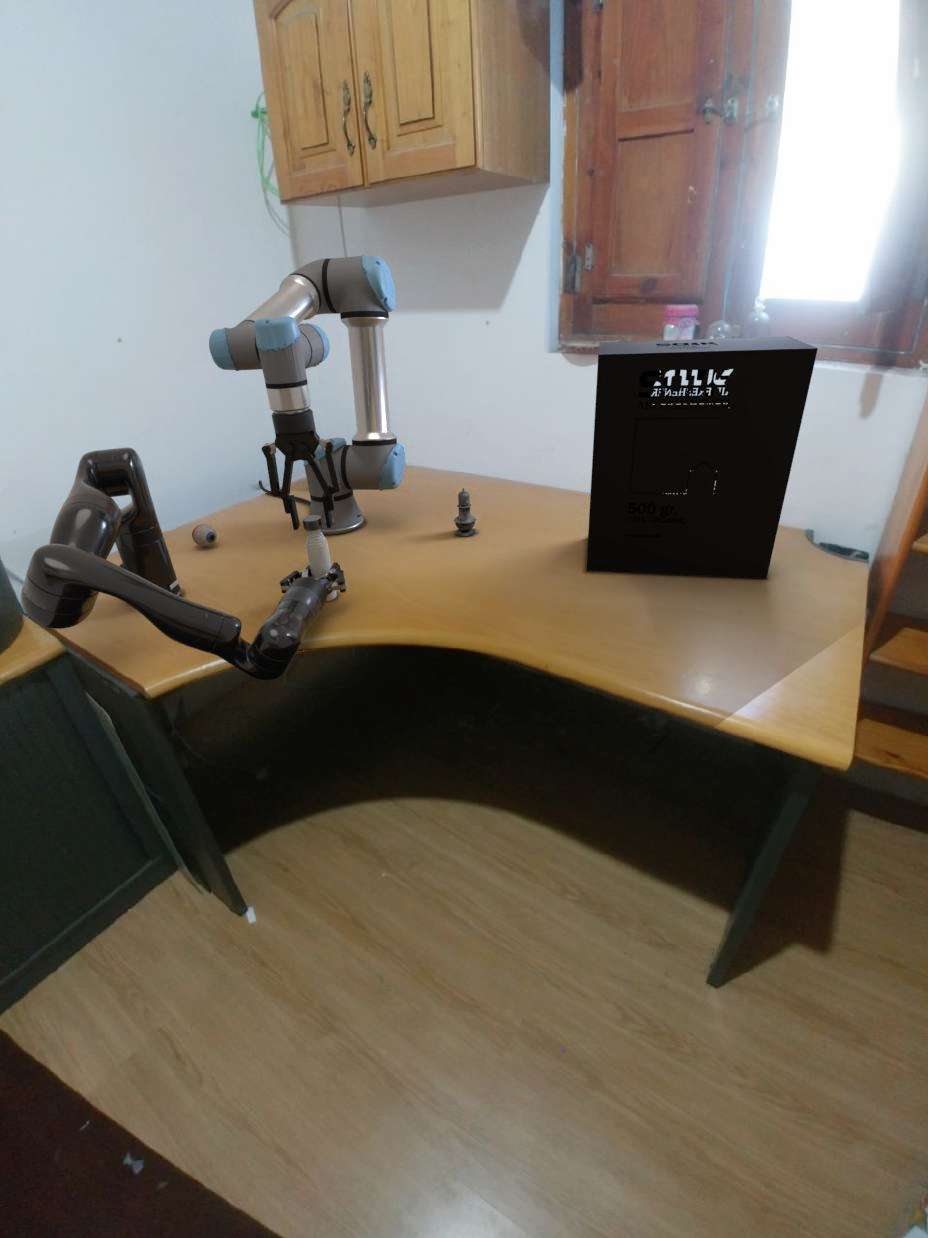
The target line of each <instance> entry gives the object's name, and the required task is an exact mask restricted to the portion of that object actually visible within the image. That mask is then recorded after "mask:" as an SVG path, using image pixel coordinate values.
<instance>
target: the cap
mask: <svg viewBox="0 0 928 1238" xmlns="http://www.w3.org/2000/svg"><path fill="white" fill-rule="evenodd" d="M302 525H303V529H304V530H305V531H307V532H308V531H314V530H319V529H321V528H322V527H323V524H322V518H321V516H319V515H310V516H309V515H306V516H304V517H303V518H302Z"/></svg>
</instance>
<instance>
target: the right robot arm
mask: <svg viewBox="0 0 928 1238" xmlns="http://www.w3.org/2000/svg"><path fill="white" fill-rule="evenodd" d="M396 301H397V296H396V288H395V283H394V279H393V276H392V273H391V270H390V268H389V265H388V264H387V262H386V261H385V260H384V258H382V257H381V256H379V255H364V254H362V255H356V256H344V257H332V258H331V257H330V258H328V257H327V258H326V257H325V258H320V259H316V260H313V261H310V262H308V263H306V264H304V265H302V266H300V267H299V268H297V269H295V270H294V271H292V272H290V273H289V275H287V276H286V277H284V278H283V279H282V281H281V282H280V284H279V287H278V290H277V291H276V292H275V293H274V294H272V295H271V296H270V297H269V298H268V299H267V300H266V301H264V302H263V303H262V304H260V305H259V306H258V307H257V308H255V310H253V312H251V313H249V314H248V316H246V317H245V318H244V319H243V320H242V321H240V322H239V323H238V324H236V325H235V326H233V327H223V328H216V329H214V330H212V331H211V333H210V335H209V338H208V349H209V353H210V355H211V359H212V360H213V363H214V364H215V365H216V366H217V367H218V368H219V369H221V370H224V371H236V372H238V371H255V370H257V371H258V370H262V373H263V378H264V384H265V385H264V386H265V390H266V395H267V400H268V406H269V409H270V410H271V411H272V413H271V420H272V424H273V429H274V435H275V438H274V441H273V442H270V443H268V442H266V443H264V445H263V446H262V447H261V452H262V453H263V455H264V457H265V461H266V468H267V473H268V480H269V487H270V488H269V489H267V488H265V487H264V485H263V481H262V480H258V485H259V489H260V490H262V491H263V492H264V493H266V494H268V495H271V496H272V497H278V498H281V500H282V504H283V505H282V506H283V509H284V512H285V514H286V515H288V514H289V515H290V519H291V524H292V528H293V531H298V530H299V528H300V527H301V523H300V518H299V513H298V509H297V502H296V501H299V502H302V503H305V504H308V505H309V506H310V507H309V513H308V516H310V515H319V516H321V518H322V524H323V527H322V528H321V529H320V530H321V532H322V534H323V535H324V536H327V535H329V536H331V535H339V534H340V535H341V534H345V533H350V532H353V531H355V530H357V529H359V528H361V527H362V526H363V525H364V523H365V519H364V514H363V512H362V510H361V508H360V505H359V504H358V501H357V500H356V498H355V495H354V491H363V490H364V491H380V492H383V491H392V490H395V489H397V488H398V487H400V485H401V484H402V481H403V478H404V475H405V469H406V452H405V447H404V446H403V444H400V443H398V438H397V435H396V434H395V433H394V432H393V431H392V430H391V423H390V421H391V420H390V406H389V392H388V378H387V377H388V376H387V364H386V363H387V362H386V348H385V333H384V331H385V330H384V328H385V326H387V324H388V323H389V320H390V314H389V313H391V312H392V311H394V310H395V309H396V305H397V303H396ZM327 314H328V315H330V314H331V315H333V314H335V315H338V314H339V316H340V322H341V323H342V324H343V325H344V326H345V327H346V329H347V334H348V336H347V337H348V347H349V357H350V358H349V359H350V369H351V380H352V390H353V391H352V392H353V404H354V413H355V415H354V416H355V424H356V425H355V427H356V432H355V433H354V435H353V436H352V437H351V444H347V441H346V439H345V438H344V437H331V438H325V439H324V438H320V436H319V434H318V433H317V428H316V423H315V417H314V412H313V410H312V409H311V407H312V400H311V394H310V388H309V382H308V378H307V371H306V370H308V369H310V368H314V367H317V366H319V365H320V364H321V363H323V362H324V361H326V359H327V358H328V356H329V353H330V348H331V347H330V340H329V337H328V335H327V333H326V331H324V330H323V328H321V326H318V325H317V324H314V323H302V322H303V321H307V320H310V319H312V318H314V317H315V316H318V315H327ZM277 449H278V450H279V451H280V452H281V454H282V455H283V456H284V462H283V464H284V467H283V477H282V485H281V486H280V479H279V472H278V463H277V457H276V454H277ZM297 461H303V467H304V471H305V477H306V481H307V486H308V492H309V498H310V500H309V499H306V498H302V497H299V496H296V495H295V494H291V485H292V477H293V471H294V463H295V462H297Z"/></svg>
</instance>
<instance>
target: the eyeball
mask: <svg viewBox="0 0 928 1238" xmlns="http://www.w3.org/2000/svg"><path fill="white" fill-rule="evenodd" d="M191 538H192V540H193V542H194V543H195V544H196V545H197V546H199V547H202V548H208V547H211V546H213V545H214V544H215V543H216V541H217V538H218V534H217V531H216V529H215V528H214V527H213V526H212V525H211V524H210V525H209V524H207V523H200V524H198V525H196V526H195V527H194V529H193V530H192V532H191Z"/></svg>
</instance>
